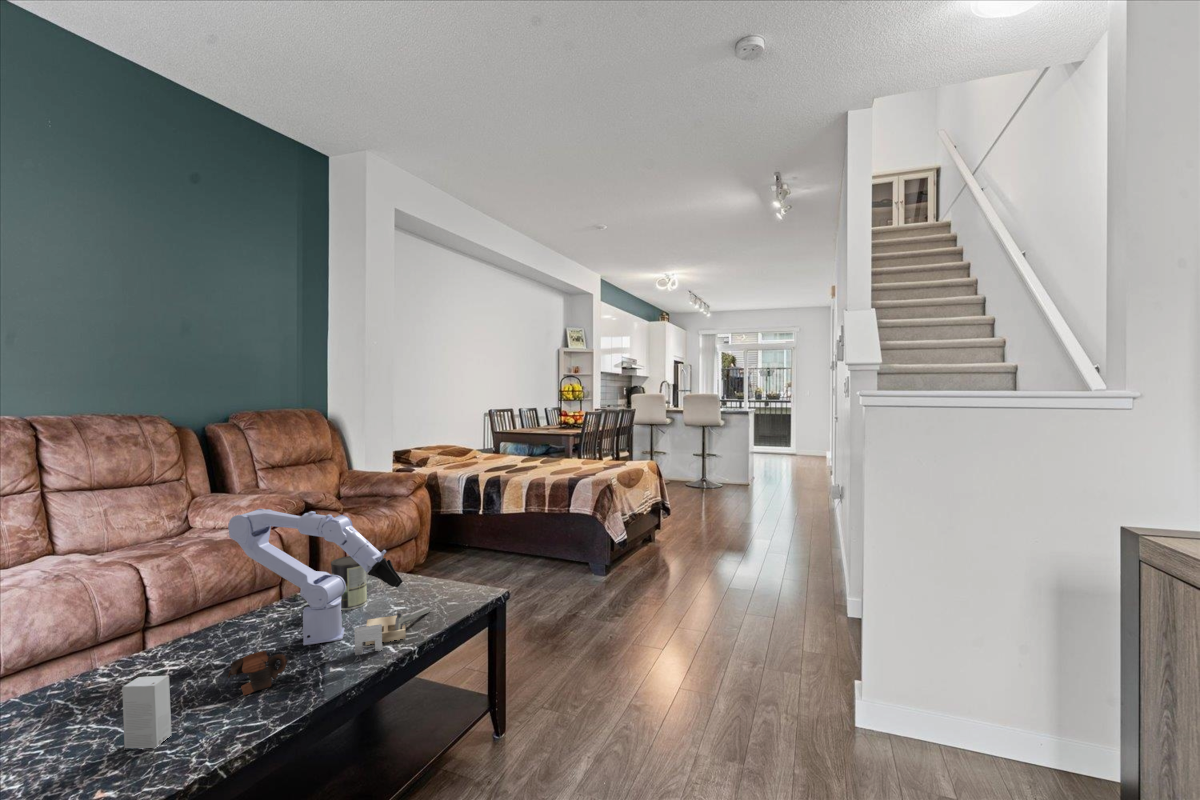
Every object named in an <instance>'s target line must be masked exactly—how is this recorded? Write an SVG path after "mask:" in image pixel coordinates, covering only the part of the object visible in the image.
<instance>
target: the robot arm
mask: <svg viewBox="0 0 1200 800" xmlns="http://www.w3.org/2000/svg"><path fill="white" fill-rule="evenodd" d="M316 513H317V512H316V511H312V510H311V511H308V512H305V513H303V514H302V515H301V516H300V515H296V514H291V513H286V512H281V511H276V510H273V509H264V508H257V509H255V510H252V511H249V512H246V513H242V514H237V515H233V516H232V517H231V518H230V519H229V522H228V527H227V528H228V530H227V531H228V535H229V538H230V539H231V540H233V541H235V542H236V543H237V544H238V545H239V546H240V548H241V549H242V551H244V554H245V555H246V556H247V557H248V558H250V559H251V560H254V561H255V562H257V563H258V564H260V565H262V566H263V567H264V568H266V569H268V570H269V571H271V572H273V573H275V574H276V575H278V576H279V577H281V578H283V579H285V580H286V581H288V582H289V583H291V584H293V585H294V586H296V587H297V588H300V592H299V596H300V597H301V598H303V599H304V600H305V601H306V603H307V604H308V605H309V606H306V607H303V612H302V613H303V614H302V626H303V629H302V636H303V642H302V644H303V646H310V645H315V644H320V643H321V644H322V643H328V642H335V641H341V640H343V639H344V635H345V634H344V633H345V630H346V629H345V627H343V624H342V623H343V622H342V621H343V619H342V611H341V599H342V597H341V595H342V594H343V593H344V592H345V589H346V584H345V581H344V579H343V578H342V577H340V576H338V575H332V573H329V572H328V571H318V570H317V571H316V570H314V569H313V568H311V567H309V566H308V565H306V564H305V563H303V562H301V561H300V560H298V559H296V558H295V557H293V556H291V555H290V554H288V553H286V552H285V551H284V550H282V549H280V548H278V547H277V546H275V545H274V544H272V543H270V541H269V540H270V535H271V529H272V527H277V528H285V529H286V528H288V529H289V528H290V529H297V530H298V532H299V533H300V534H301V535H306V536H313V537H321V538H323V539H324V540H325V541H327V542H329V543H334V544H335V545H336V546H338V547H339V548H341V550H342V551H343V552H345V553H346V554H347V555H348V556H351V557H352V558H353V559H354V560H355V561H356V562H357V563H358V564H359V565H360V566H361V567H362V568H364V570H365V571H366V573H367V575H368V576H371V577H375V578H376V579H379V580H381V581H382V582H384V583H385V584H387V585H388V586H391V587H392V588H394V587H395V588H399V587H400V586H401V585H402V584H403V579H402V578H401V577H400V575H399V574H398V573H397V571H396V570H395V568H394V567H393V564H392V561H391V559H387V558H386V557H384V556H385V554H386V553H387V550H386V549H383V550H382V551H379V550H378V548H377V547H375V546H374V545H372V543H371V542H370V541H369V540H368V539H366V537H364V536H363V535H362V534H361V533H360V532H359V531H358V530H357V529H356V528H355V527H354V526H353V521H352V519H351V518H350V517H349V516H347V515H344V514H339V515H337V516H335V517H334V516H333V515H332V514H329V513H328V514H326V515H324V514H319V513H317V514H316Z"/></svg>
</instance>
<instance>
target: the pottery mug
mask: <svg viewBox="0 0 1200 800" xmlns="http://www.w3.org/2000/svg"><path fill="white" fill-rule="evenodd" d="M267 653H268V651H266V650H262V651H258V652H253V653H252V654H249V655H246V656H243V657H240V658H238V659H236V660H234V661H232V662H231V663H230V664H229V665H230V667H231V669H230V670H229V672H228V676H227V679H230V678H231V676H235V675H236V676H238V675H241V674H247V675H246V676H248V678H249V681H248V682H246V683H245V684H242V685H241V687H240V689H241V691H242V694H243V696H246V695H250V694H252V693H255V692H257V691H262V690H264V689H268V688H271V687H272V680H276V679H277V677H278V675H280V674H282V672H283V671H284V670H285V669H286V667H287V665H288V661H289V660H288V659H287V656H286V655H285V654H282V653H278V654H277V653H276V654H274V655H272V656H269V655H268V654H267ZM278 661H280V664H279V666H278V668H277V667H276V666H277V663H278ZM267 664H268V665H267Z"/></svg>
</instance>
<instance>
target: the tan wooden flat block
mask: <svg viewBox="0 0 1200 800" xmlns="http://www.w3.org/2000/svg"><path fill="white" fill-rule="evenodd" d="M404 614H405V613H403V615H404ZM396 618H397V614H396V615H393V616H392V615H391V616H383V617H375V618H369V619H368V618H367V619H366V626H372V625H379V624H382V642H384V643H390V641H391V642H395V641H394V640H397V641H401V640H400V639H403V640H405V639H404V638H406V639H407V637H406V635H407V633H406V632H407V631H406V624H405V625H404V626H402V629H400V630H395V622H396ZM364 643H365V646H370V644H372V645H375V640H373V641H367V642H364Z"/></svg>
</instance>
